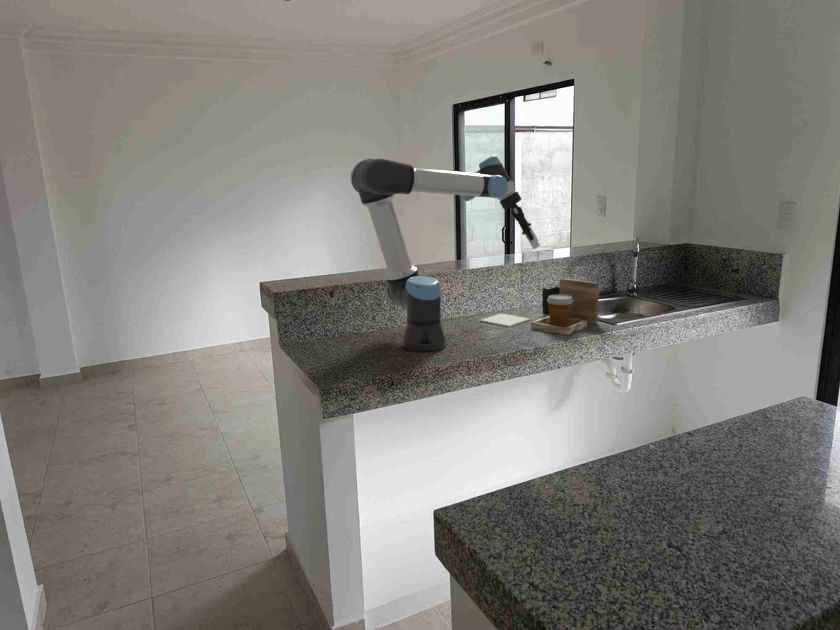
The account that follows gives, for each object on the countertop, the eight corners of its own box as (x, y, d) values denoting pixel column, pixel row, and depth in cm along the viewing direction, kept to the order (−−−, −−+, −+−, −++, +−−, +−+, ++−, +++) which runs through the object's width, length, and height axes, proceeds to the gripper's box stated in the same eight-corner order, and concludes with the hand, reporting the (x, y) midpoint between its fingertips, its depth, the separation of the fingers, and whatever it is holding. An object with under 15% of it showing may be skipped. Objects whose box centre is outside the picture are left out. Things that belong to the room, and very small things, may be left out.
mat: (509, 327, 232) (509, 325, 232) (480, 321, 242) (480, 319, 242) (529, 320, 242) (529, 318, 242) (501, 314, 252) (501, 313, 251)
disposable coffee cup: (544, 330, 227) (545, 298, 224) (547, 324, 236) (548, 293, 233) (570, 331, 224) (571, 300, 221) (572, 325, 233) (574, 294, 230)
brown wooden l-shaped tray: (567, 335, 219) (569, 292, 215) (529, 328, 230) (530, 286, 226) (596, 323, 235) (599, 283, 231) (560, 317, 245) (561, 278, 242)
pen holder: (545, 309, 260) (545, 286, 258) (567, 310, 256) (568, 287, 254) (539, 313, 252) (539, 290, 250) (561, 315, 248) (562, 291, 246)
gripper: (516, 192, 211) (546, 244, 214) (516, 188, 235) (543, 235, 238) (498, 203, 213) (527, 255, 216) (499, 198, 237) (526, 245, 240)
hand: (536, 245), depth 227 cm, fingers open, 13 cm apart
